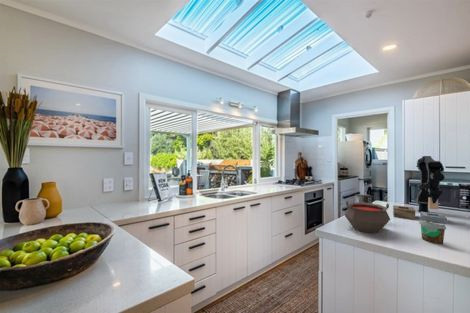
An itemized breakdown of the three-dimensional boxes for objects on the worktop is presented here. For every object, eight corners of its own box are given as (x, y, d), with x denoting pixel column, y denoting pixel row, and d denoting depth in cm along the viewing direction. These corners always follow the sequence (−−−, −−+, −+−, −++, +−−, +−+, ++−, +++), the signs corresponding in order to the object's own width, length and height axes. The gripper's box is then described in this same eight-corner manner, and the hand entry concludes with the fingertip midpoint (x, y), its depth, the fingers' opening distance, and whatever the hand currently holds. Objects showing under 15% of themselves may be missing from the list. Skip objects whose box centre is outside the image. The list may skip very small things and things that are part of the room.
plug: (428, 207, 156) (428, 197, 156) (436, 208, 154) (436, 198, 154) (429, 208, 153) (429, 198, 152) (438, 209, 150) (438, 199, 150)
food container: (412, 236, 123) (412, 218, 123) (423, 236, 123) (423, 217, 123) (434, 245, 111) (434, 225, 110) (445, 245, 111) (446, 225, 111)
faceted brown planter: (345, 232, 128) (346, 204, 128) (342, 220, 150) (343, 196, 150) (396, 238, 119) (396, 208, 119) (385, 225, 141) (385, 199, 141)
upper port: (393, 213, 170) (393, 205, 170) (413, 215, 164) (413, 207, 164) (393, 216, 160) (393, 208, 160) (415, 219, 154) (415, 210, 154)
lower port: (420, 216, 162) (420, 211, 162) (442, 219, 155) (442, 214, 155) (422, 220, 152) (423, 215, 151) (447, 223, 145) (447, 218, 145)
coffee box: (367, 216, 160) (368, 194, 160) (372, 219, 154) (372, 195, 153) (354, 216, 161) (354, 193, 161) (358, 219, 155) (358, 195, 154)
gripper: (416, 177, 165) (416, 198, 165) (420, 180, 149) (420, 203, 150) (436, 178, 159) (436, 200, 159) (443, 181, 143) (442, 206, 144)
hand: (433, 202), depth 153 cm, fingers closed on plug, 4 cm apart
